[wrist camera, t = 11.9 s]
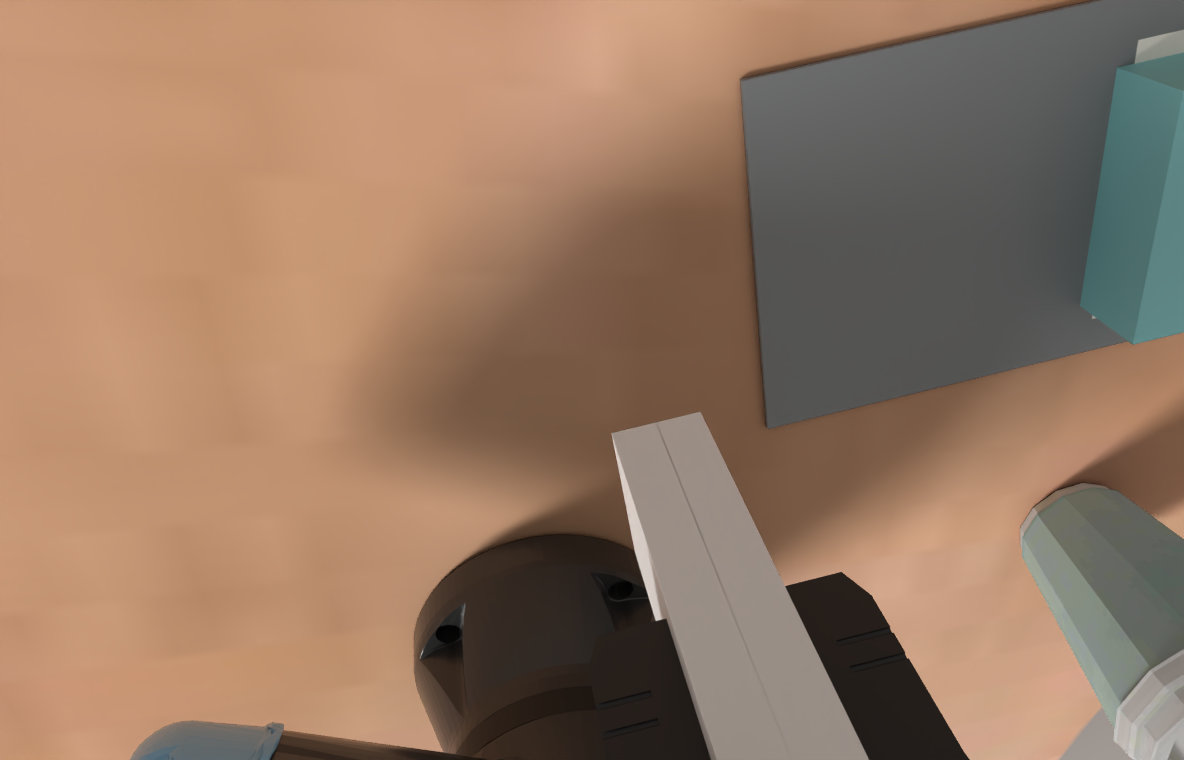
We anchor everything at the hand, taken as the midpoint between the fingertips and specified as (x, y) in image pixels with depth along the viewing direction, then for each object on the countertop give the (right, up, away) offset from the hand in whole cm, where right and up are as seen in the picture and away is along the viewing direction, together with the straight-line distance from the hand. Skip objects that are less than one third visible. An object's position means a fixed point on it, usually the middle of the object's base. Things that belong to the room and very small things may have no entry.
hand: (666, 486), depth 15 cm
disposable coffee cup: (+27, -7, +39) cm, 49 cm away
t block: (+28, +12, +27) cm, 41 cm away
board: (+23, +11, +27) cm, 37 cm away
